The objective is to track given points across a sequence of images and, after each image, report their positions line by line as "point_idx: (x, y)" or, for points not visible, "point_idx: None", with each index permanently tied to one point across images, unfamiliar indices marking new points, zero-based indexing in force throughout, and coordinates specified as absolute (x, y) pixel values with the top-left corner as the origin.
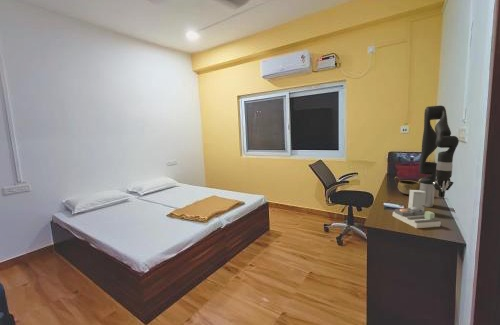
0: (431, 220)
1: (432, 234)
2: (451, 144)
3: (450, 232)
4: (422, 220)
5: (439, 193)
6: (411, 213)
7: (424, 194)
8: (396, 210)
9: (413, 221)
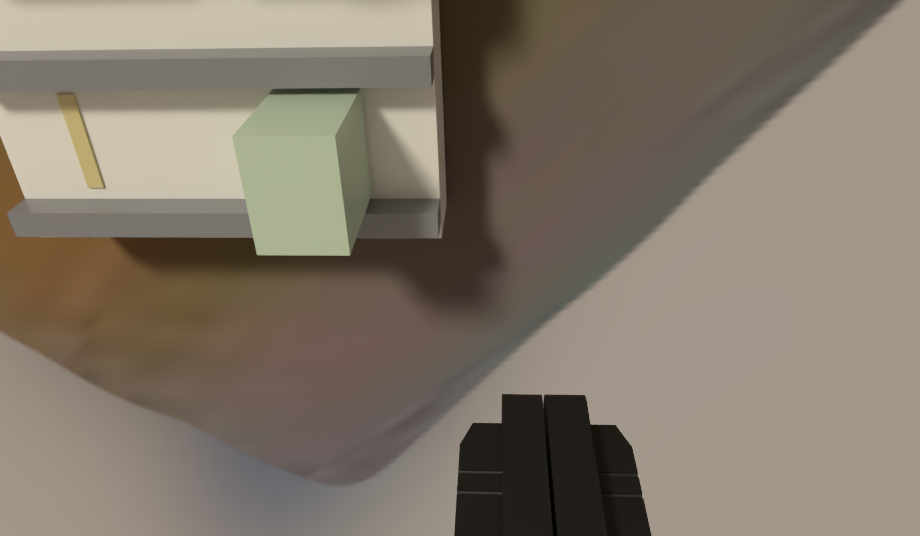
0: None
1: (176, 359)
2: None
3: (415, 354)
4: (129, 234)
5: (463, 523)
6: None
7: None
8: None
9: (25, 167)
